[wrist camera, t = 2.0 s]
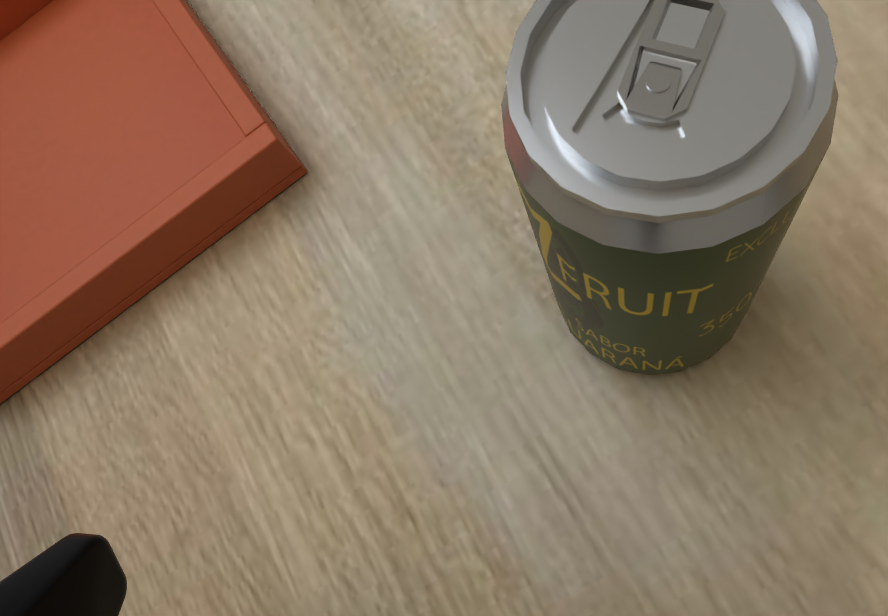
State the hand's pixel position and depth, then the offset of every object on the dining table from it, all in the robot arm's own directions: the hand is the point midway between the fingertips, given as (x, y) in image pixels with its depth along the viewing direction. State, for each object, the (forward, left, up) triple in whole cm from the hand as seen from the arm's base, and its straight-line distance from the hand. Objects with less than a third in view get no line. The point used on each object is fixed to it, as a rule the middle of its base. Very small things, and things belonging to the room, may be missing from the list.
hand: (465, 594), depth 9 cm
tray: (+22, +6, -14) cm, 27 cm away
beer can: (+5, -7, -14) cm, 16 cm away
